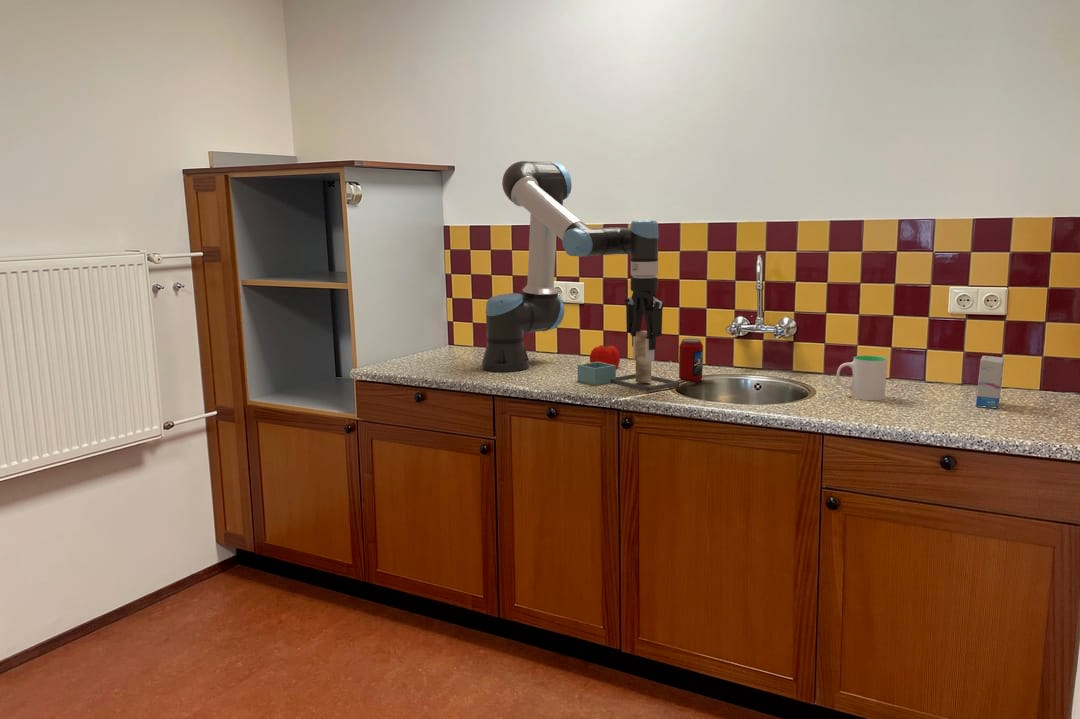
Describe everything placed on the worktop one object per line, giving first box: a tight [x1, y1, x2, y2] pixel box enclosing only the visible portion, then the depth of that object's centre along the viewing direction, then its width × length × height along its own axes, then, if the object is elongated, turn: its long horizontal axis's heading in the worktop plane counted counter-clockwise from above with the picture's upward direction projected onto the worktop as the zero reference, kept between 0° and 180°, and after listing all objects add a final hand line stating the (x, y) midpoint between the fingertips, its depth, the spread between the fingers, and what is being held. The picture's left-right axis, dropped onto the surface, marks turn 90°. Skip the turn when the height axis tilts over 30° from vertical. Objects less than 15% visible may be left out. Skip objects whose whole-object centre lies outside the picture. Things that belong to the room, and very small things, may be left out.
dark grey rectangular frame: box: [611, 373, 680, 395], centre depth 227 cm, size 16×12×2 cm
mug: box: [836, 355, 888, 401], centre depth 210 cm, size 12×8×10 cm
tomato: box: [589, 344, 621, 369], centre depth 252 cm, size 9×9×8 cm
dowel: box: [635, 330, 652, 384], centre depth 226 cm, size 4×4×14 cm
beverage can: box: [678, 338, 704, 383], centre depth 233 cm, size 7×7×12 cm
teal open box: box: [576, 362, 617, 386], centre depth 231 cm, size 8×8×6 cm
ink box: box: [975, 355, 1005, 409], centre depth 199 cm, size 9×5×12 cm, turn 148°
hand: (643, 359), depth 226 cm, fingers closed on dowel, 4 cm apart
